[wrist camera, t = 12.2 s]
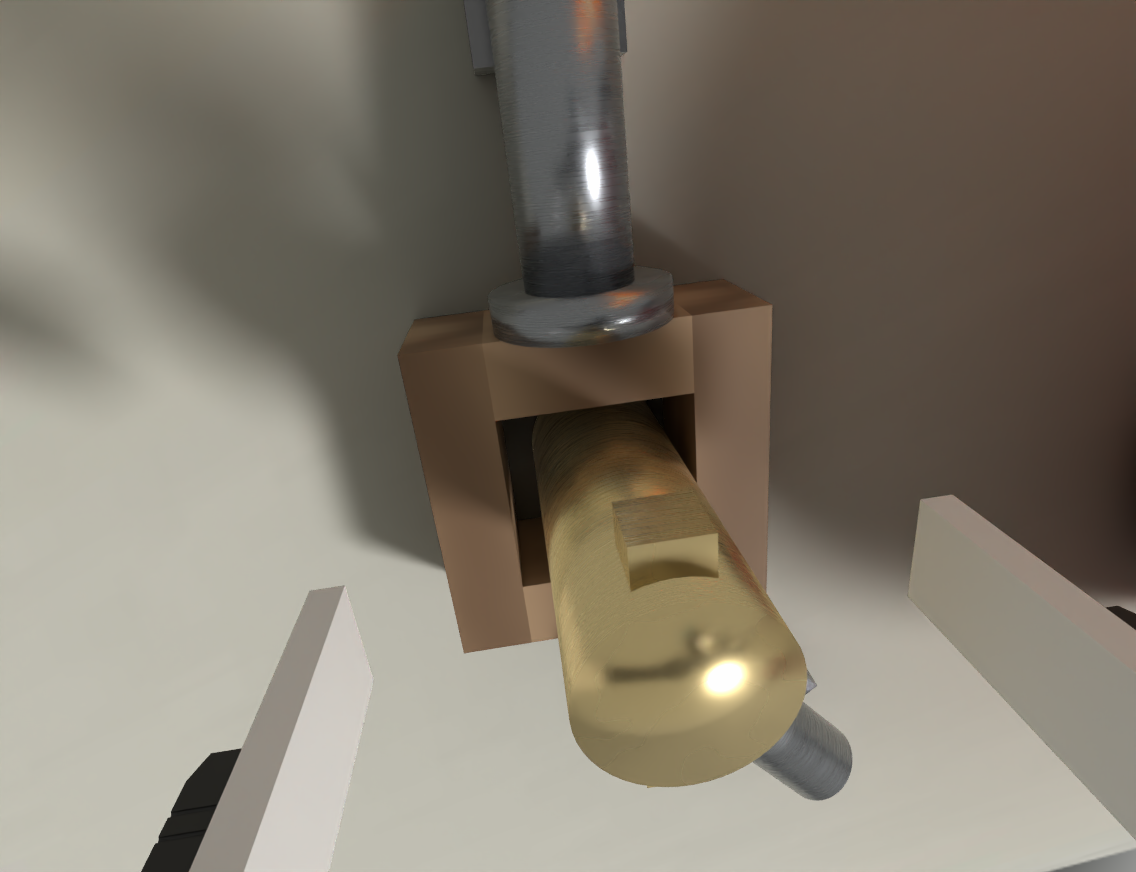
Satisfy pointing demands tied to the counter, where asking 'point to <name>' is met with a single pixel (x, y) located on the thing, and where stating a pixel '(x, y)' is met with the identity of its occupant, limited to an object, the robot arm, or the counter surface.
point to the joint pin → (656, 607)
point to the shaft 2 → (810, 755)
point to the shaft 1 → (566, 174)
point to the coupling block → (570, 382)
